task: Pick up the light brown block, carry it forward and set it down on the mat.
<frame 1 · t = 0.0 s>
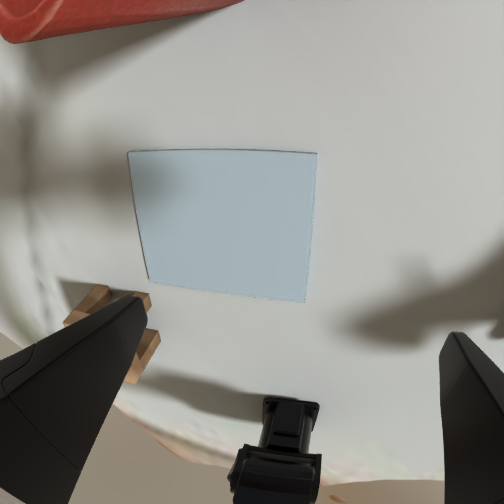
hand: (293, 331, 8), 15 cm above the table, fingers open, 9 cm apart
light brown block: (129, 313, 32), on the table
mat: (218, 226, 24), on the table
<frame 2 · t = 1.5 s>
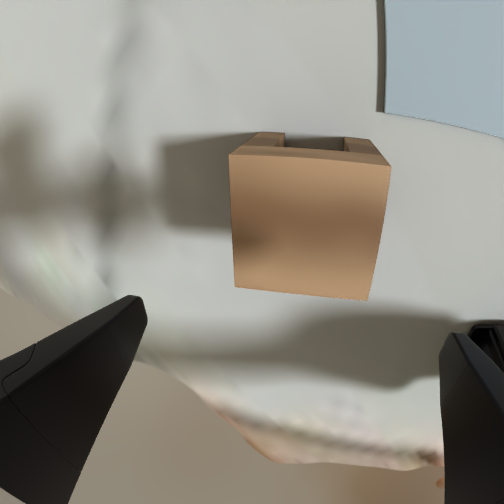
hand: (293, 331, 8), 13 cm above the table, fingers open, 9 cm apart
light brown block: (312, 186, 19), on the table
mat: (489, 43, 11), on the table
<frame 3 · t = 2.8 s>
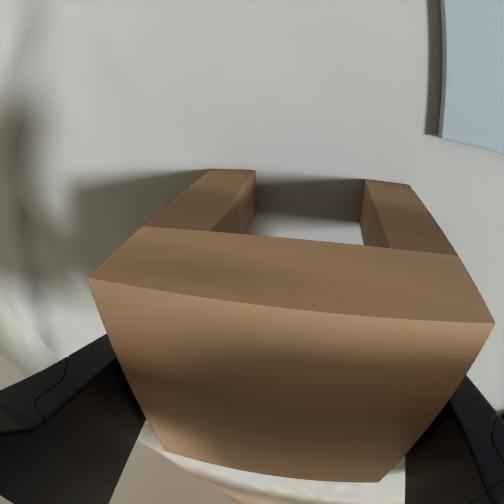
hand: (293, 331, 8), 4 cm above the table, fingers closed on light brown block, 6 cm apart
light brown block: (304, 262, 11), on the table, touching gripper
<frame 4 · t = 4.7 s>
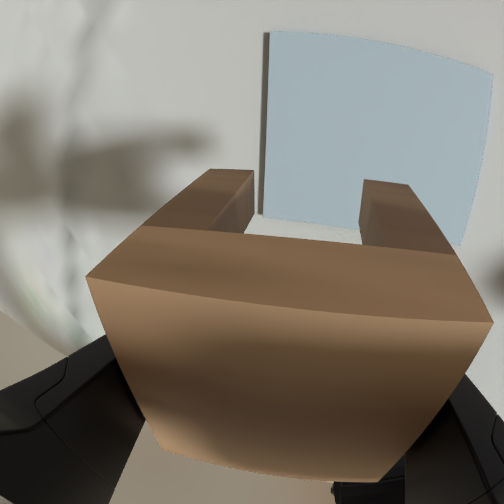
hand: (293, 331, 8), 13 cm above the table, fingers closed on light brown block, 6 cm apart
light brown block: (303, 262, 11), point 10 cm above the table, touching gripper
mat: (382, 139, 17), on the table
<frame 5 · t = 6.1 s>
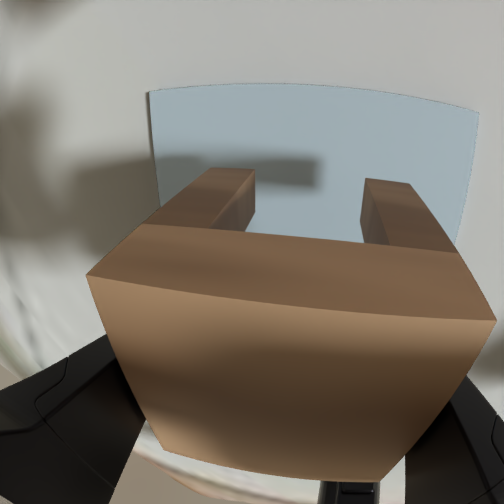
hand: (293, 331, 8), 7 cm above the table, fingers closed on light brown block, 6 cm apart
light brown block: (304, 261, 11), point 3 cm above the table, touching gripper
mat: (308, 222, 14), on the table
when the fingers open (5 cm above the table, at t = 7.0 s): light brown block drops 1 cm, resting on mat.
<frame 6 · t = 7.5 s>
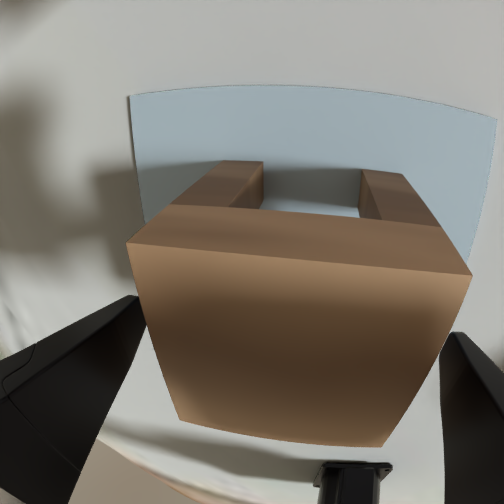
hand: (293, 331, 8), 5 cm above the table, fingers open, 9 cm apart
light brown block: (307, 245, 12), resting on mat
mat: (306, 240, 13), on the table
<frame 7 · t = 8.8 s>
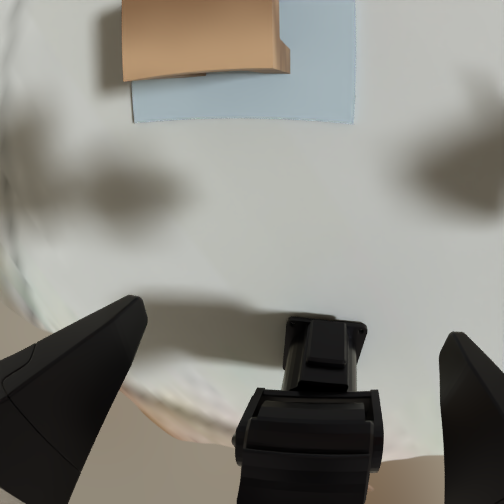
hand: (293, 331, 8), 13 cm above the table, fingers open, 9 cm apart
light brown block: (233, 23, 15), resting on mat
mat: (234, 24, 15), on the table
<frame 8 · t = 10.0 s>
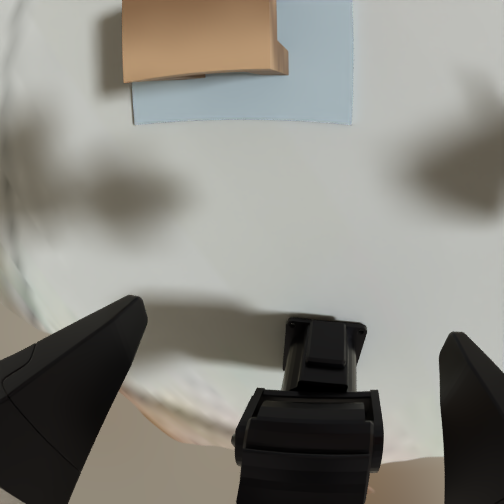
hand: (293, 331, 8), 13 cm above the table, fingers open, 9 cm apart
light brown block: (232, 26, 15), resting on mat
mat: (233, 27, 15), on the table
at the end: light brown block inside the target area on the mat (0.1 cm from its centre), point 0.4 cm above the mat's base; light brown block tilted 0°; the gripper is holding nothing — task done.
